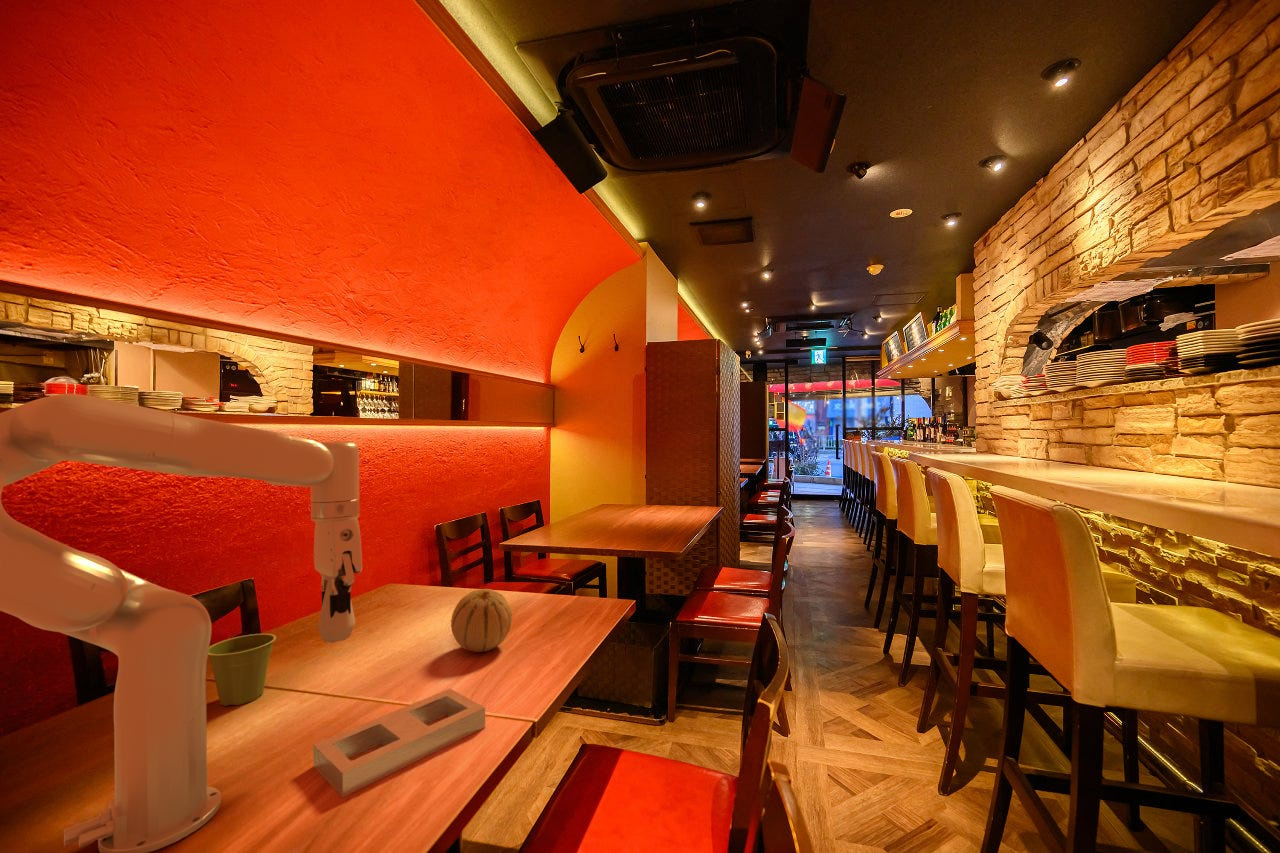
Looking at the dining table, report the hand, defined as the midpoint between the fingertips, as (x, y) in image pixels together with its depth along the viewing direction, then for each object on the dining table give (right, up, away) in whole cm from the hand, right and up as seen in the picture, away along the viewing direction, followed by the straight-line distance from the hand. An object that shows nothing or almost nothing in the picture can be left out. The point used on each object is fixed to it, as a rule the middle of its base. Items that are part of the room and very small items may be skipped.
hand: (336, 613), depth 95 cm
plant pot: (-28, -23, +15) cm, 40 cm away
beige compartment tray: (+14, -21, -4) cm, 26 cm away
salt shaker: (0, -5, 0) cm, 5 cm away
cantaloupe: (+15, -22, +38) cm, 46 cm away
